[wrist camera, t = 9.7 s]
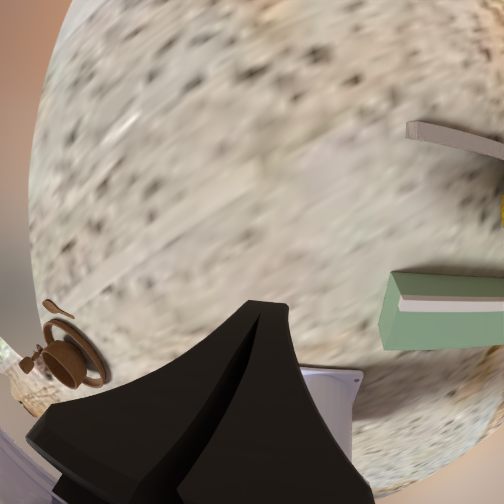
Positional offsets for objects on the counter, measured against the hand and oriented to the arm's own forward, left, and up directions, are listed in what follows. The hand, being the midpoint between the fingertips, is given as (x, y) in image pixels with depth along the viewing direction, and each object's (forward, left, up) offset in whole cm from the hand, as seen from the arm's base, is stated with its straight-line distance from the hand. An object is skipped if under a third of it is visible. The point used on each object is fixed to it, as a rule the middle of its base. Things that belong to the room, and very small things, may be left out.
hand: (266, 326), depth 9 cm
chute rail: (+7, -15, -10) cm, 19 cm away
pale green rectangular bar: (-5, -15, -10) cm, 19 cm away
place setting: (-19, +33, -11) cm, 39 cm away
